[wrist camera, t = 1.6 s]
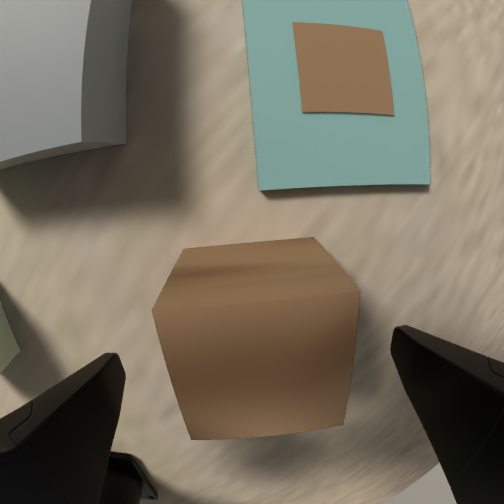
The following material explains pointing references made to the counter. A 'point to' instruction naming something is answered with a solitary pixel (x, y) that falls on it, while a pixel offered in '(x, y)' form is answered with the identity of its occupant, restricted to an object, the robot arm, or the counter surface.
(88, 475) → the robot arm
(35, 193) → the counter surface
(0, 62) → the slate block
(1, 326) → the sage cube
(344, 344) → the walnut cube
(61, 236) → the counter surface
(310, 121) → the card
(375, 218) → the counter surface
